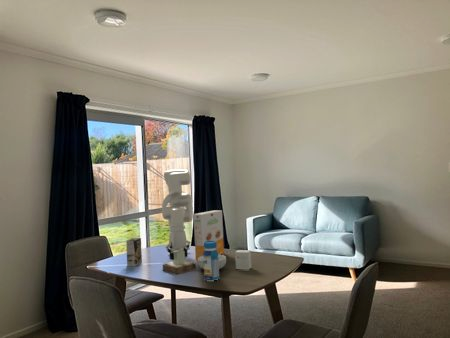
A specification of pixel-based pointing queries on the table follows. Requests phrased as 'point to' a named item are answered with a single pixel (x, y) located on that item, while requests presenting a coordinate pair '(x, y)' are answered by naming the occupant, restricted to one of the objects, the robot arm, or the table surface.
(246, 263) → the small box
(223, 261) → the cereal bowl
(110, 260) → the table surface
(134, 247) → the coffee box
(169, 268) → the base
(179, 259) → the block
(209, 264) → the beverage bottle
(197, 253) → the cereal box
